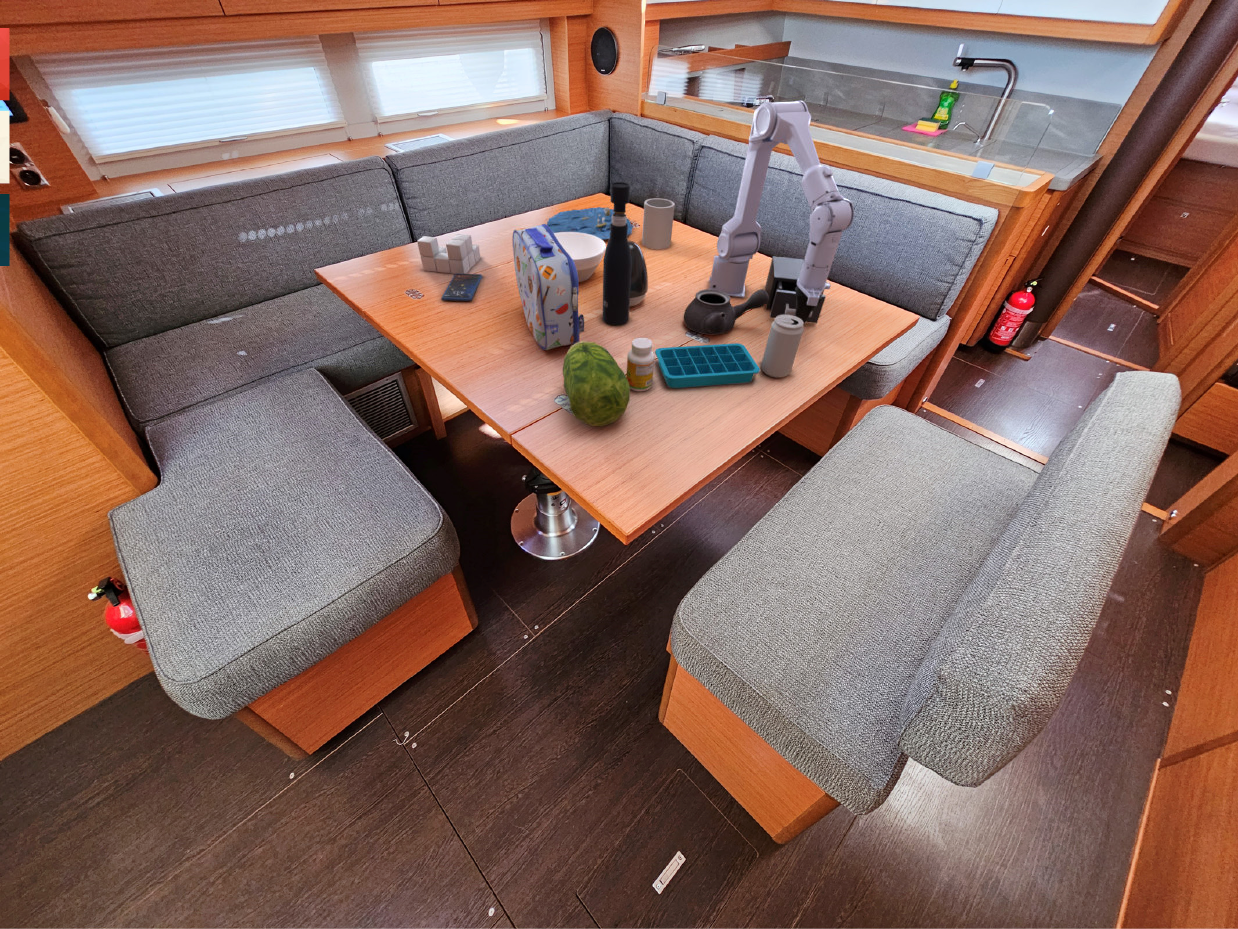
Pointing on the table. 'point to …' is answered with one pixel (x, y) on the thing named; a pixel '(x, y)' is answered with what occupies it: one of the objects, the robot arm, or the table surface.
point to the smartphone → (462, 287)
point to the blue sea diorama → (585, 222)
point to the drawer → (790, 301)
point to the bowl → (583, 251)
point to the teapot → (718, 311)
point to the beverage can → (782, 345)
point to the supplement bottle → (640, 365)
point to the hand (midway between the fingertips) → (799, 321)
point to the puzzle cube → (449, 254)
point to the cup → (657, 223)
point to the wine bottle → (617, 261)
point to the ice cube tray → (706, 365)
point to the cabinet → (782, 274)
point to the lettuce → (594, 384)
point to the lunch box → (547, 287)
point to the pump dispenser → (637, 275)
